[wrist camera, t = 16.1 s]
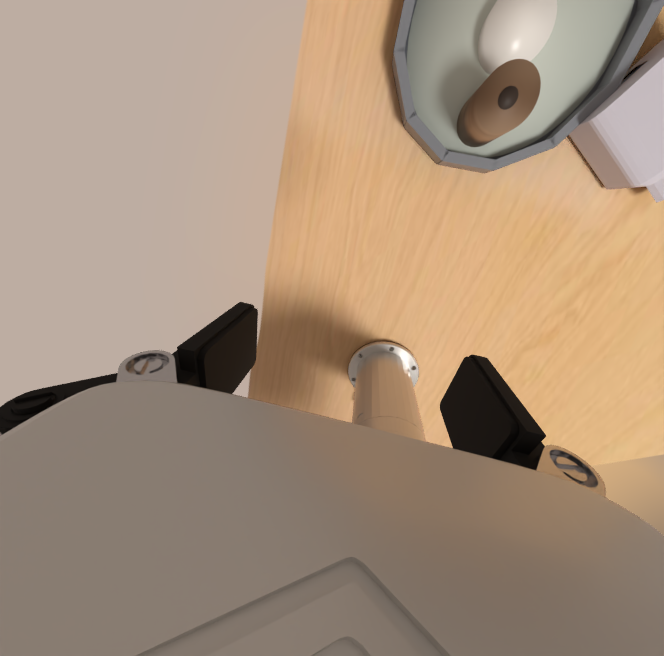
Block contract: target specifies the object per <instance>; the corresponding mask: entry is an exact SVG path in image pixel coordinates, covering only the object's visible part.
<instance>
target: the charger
mask: <svg viewBox="0 0 664 656" xmlns="http://www.w3.org/2000/svg"><path fill="white" fill-rule="evenodd" d="M646 61H647V62H646ZM644 62H646V63H644ZM642 63H644V64H643V65H641V66H639V67H638V68H637V69H636V70H635V71H634V72H633V73H631V74H630V75H629V76H628V77H627V78H626V79H625V80H624V81H623V82H622V83H621V84H620V86H619V88H618V89H617V90H616V91H615V92H614V93H613V94H612V95H611V96H610V97H609V98H607V99H606V100H605V101H604V102H603V103H602V104H601V105H600V106H599V107H598V108H597V109H596V110H595V111H593V112H592V113H591V114H590V115H589V116H588V117H587V118H586V119H585V120H584V121H583V122H582V123H581V124H580V125H578V126H577V127H576V128H575V129H574V130H573V131H572V132H571V133H570V134H569V136H570V137H571V139H572V140H573V142H574V143H575V145H576V146H577V147H578V149H579V150H580V152H581V153H582V155H583V156H584V157H585V159H586V160H587V162H588V163H589V165H590V166H591V168H592V169H593V170H594V172H595V173H596V175H597V176H598V178H599V179H600V181H601V182H602V183H603V185H604V186H605V188H606V189H620V188H633V187H645V186H646V187H647V189H648V190H649V192H650V193H651V195H652V197H653V198H654V200H655V201H656V202H659V201H662V200H664V39H663V40H662V41H660V42H659V43H658V44H657V45H655V46H654V47H653V48H652V49H651V50H650V51H649V52H648V53H647V54H646V55H644V56H643V57H642V58H641V59H640V60H639V61H638V62H637V63H636V64H635V65H634V66H633V67H631V68H630V69H629V70H628V71H627V73H626V75H627V74H628V73H629V72H630V71H631V70H633V69H634V68H635V67H636V66H638V65H640V64H642ZM626 75H625V76H626Z"/></svg>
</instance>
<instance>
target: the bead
mask: <svg viewBox="0 0 664 656" xmlns="http://www.w3.org/2000/svg"><path fill="white" fill-rule="evenodd" d="M540 88H541V80H540V74H539V72H538V70H537V68H536V66H535V65H534V64H533V63H531V62H530V61H528V60H525V59H514V60H510V61H508V62H505V63H504V64H502V65H500V66H499V67H498V68H497V69H495V70H494V71H493V72H492V73H491V75H490V76H489V77H488V78H487V79H486V80H485V81H484V82H483V84H482V85H481V86H480V87H479V88H478V89H477V90H476V91H475V92H474V94H473V95H472V96H471V97H470V98H469V99H468V100H467V101H466V103H465V104H464V106H463V107H462V109H461V111H460V113H459V116H458V119H457V134H458V137H459V139H460V140H461V142H462V143H463V144H465V145H466V146H469V147H480V146H483V145H485V144H487V143H489V142H491V141H493V140H495V139H496V138H498V137H500V136H502V135H504V134H505V133H507V132H509V131H511V130H513V129H514V128H516V127H517V126H519V125H520V124H521V123H522V122H523V121H525V119H526V118H527V117H528V116H529V115H530V113H531V112H532V110H533V109H534V107H535V105H536V103H537V100H538V97H539V94H540Z"/></svg>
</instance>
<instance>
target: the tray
mask: <svg viewBox="0 0 664 656" xmlns="http://www.w3.org/2000/svg"><path fill="white" fill-rule="evenodd" d="M663 5H664V0H404V4H403V9H402V14H401V18H400V23H399V28H398V33H397V38H396V42H395V47H394V52H393V60H392V68H393V73H394V79H395V84H396V89H397V94H398V100H399V105H400V110H401V115H402V121H403V126H404V128H405V129H406V130H407V131H408V133H409V134H410V135H411V136H412V137H413V138H414V139H415V140H416V142H417V143H418V144H419V145H420V146H421V147H422V148H423V149H424V150H425V152H426V153H427V154H428V155H429V156H430V157H431V158H432V159H433V161H434V162H435V163H436V164H437V163H438V165H443V166H448V167H453V168H459V169H464V170H469V171H475V172H480V173H487V172H491V171H494V170H497V169H499V168H502V167H504V166H507V165H510V164H512V163H515V162H518V161H520V160H523V159H526V158H528V157H531V156H534V155H536V154H539V153H541V152H544V151H547V150H549V149H552V148H554V147H556V146H557V145H558V144H559V143H560V142H561V141H562V140H563V139H564V138H566V137H567V136H568V135H569V134H570V133H571V132H572V131H573V130H574V129H575V128H576V127H577V126H578V125H580V124H581V123H582V122H583V121H584V120H585V119H586V118H587V117H588V116H589V115H590V114H591V113H592V112H593V111H595V110H596V109H597V108H598V107H599V106H600V105H601V104H602V103H603V102H604V101H605V100H606V99H607V98H609V97H610V96H611V95H612V94H613V93H614V92H615V91H616V90H617V89H618V88H619V86H620V84H621V82H622V80H623V79H624V77H625V75H626V73H627V71H628V69H629V68H630V66H631V64H632V62H633V60H634V58H635V57H636V55H637V53H638V51H639V49H640V47H641V46H642V44H643V42H644V40H645V38H646V37H647V35H648V33H649V31H650V29H651V27H652V26H653V24H654V22H655V20H656V18H657V16H658V15H659V13H660V11H661V9H662V7H663ZM514 59H525V60H528V61H530V62H531V63H533V64H534V65H535V66H536V68H537V70H538V72H539V74H540V80H541V88H540V94H539V97H538V100H537V103H536V105H535V107H534V109H533V110H532V112H531V113H530V115H529V116H528V117H527V118H526V119H525V121H523V122H522V123H521V124H520V125H519V126H517V127H516V128H514V129H513V130H511V131H509V132H507V133H505V134H504V135H502V136H500V137H498V138H496V139H495V140H493V141H491V142H489V143H487V144H485V145H483V146H480V147H469V146H466V145H465V144H463V143H462V142H461V140H460V139H459V137H458V134H457V119H458V116H459V113H460V111H461V109H462V107H463V106H464V104H465V103H466V101H467V100H468V99H469V98H470V97H471V96H472V95H473V94H474V92H475V91H476V90H477V89H478V88H479V87H480V86H481V85H482V84H483V82H484V81H485V80H486V79H487V78H488V77H489V76H490V75H491V73H492V72H493V71H494V70H495V69H497V68H498V67H499V66H500V65H502V64H504V63H505V62H508V61H510V60H514Z"/></svg>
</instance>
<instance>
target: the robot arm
mask: <svg viewBox="0 0 664 656" xmlns="http://www.w3.org/2000/svg"><path fill="white" fill-rule="evenodd" d="M257 316H258V312H257V309H255V308H254V306H253V305H251V304H247V303H243V302H239V303H238V304H236V305H235V306H234V307H232V308H231V309H229V310H228V311H227V312H225V313H224V314H223V315H221V316H220V317H218V318H217V319H216V320H214V321H213V322H211V323H210V324H209V325H207V326H206V327H205V328H203V329H202V330H200V331H199V332H198V333H196V334H195V335H193V336H192V337H191V338H189V339H188V340H187V341H185V342H184V343H182V344H181V345H179V346H178V347H177V349H178V350H177V351H176V352H174V353H173V354H170V353H168V352H165V351H159V350H154V351H146V352H140V353H138V354H135V355H132V356H131V357H129V358H127V359H125V360H124V361H123V362H122V363H121V364H120V366H119V369H118V373H116V374H111V375H106V376H101V377H96V378H91V379H86V380H81V381H76V382H71V383H67V384H62V385H57V386H52V387H47V388H42V389H38V390H33V391H30V392H27V393H24V394H22V395H20V396H18V397H16V398H14V399H12V400H10V401H8V402H7V403H5V404H4V405H2V406H1V407H0V656H664V536H663V535H662V534H661V533H659V531H657V530H656V529H655V528H654V527H652V526H651V525H650V524H649V523H647V522H646V521H644V520H643V519H641V518H640V517H638V516H636V515H635V514H633V513H632V512H630V511H628V510H627V509H625V508H623V507H622V506H620V505H618V504H616V503H614V502H613V501H611V500H609V499H607V498H606V497H605V495H606V488H605V484H604V482H603V480H602V478H601V477H600V475H599V474H598V473H597V472H596V471H595V470H594V469H593V468H592V467H591V466H590V465H589V464H588V463H587V462H585V461H584V460H583V459H581V458H580V457H578V456H577V455H576V454H574V453H572V452H570V451H568V450H566V449H564V448H561V447H559V446H554V445H547V446H544V445H543V444H542V442H541V441H542V440H543V439H544V438H545V437H546V435H545V433H544V432H543V431H542V429H541V428H540V427H539V426H538V424H537V423H536V422H535V420H534V419H533V418H532V416H531V415H530V414H529V412H528V411H527V410H526V408H525V407H524V406H523V405H522V403H521V402H520V401H519V399H518V398H517V397H516V395H515V394H514V393H513V391H512V390H511V389H510V387H509V386H508V385H507V383H506V382H505V381H504V380H503V378H502V377H501V376H500V374H499V373H498V372H497V370H496V369H495V368H494V366H493V365H492V364H491V362H490V361H489V360H488V359H487V358H485V357H481V356H477V355H470V356H469V357H465V358H464V359H463V361H462V363H461V365H460V367H459V369H458V371H457V372H456V374H455V376H454V378H453V380H452V382H451V384H450V386H449V388H448V389H447V391H446V393H445V395H444V397H443V399H442V401H441V403H440V410H441V413H442V416H443V419H444V422H445V425H446V428H447V431H448V434H449V437H450V440H451V443H452V446H453V448H449V447H445V446H441V445H437V444H433V443H429V442H426V439H425V434H424V430H423V426H422V421H421V417H420V413H419V408H418V404H417V400H416V395H415V391H414V386H415V384H416V383H417V380H418V377H419V368H418V364H417V361H416V359H415V357H414V356H413V354H412V353H411V352H410V351H409V350H407V349H406V348H405V347H403V346H401V345H399V344H396V343H392V342H385V341H382V342H374V343H370V344H367V345H365V346H363V347H362V348H360V349H359V350H357V351H356V352H355V353H354V355H353V356H352V358H351V360H350V363H349V368H348V375H349V379H350V381H351V383H352V385H353V386H354V388H355V394H354V405H353V416H352V423H349V422H345V421H341V420H337V419H333V418H329V417H325V416H321V415H316V414H312V413H308V412H304V411H300V410H296V409H292V408H288V407H283V406H279V405H275V404H271V403H267V402H263V401H258V400H254V399H250V398H246V397H242V396H237V395H233V394H232V393H233V392H234V391H235V389H236V388H237V387H238V385H239V384H240V383H241V381H242V380H243V379H244V377H245V376H246V375H247V373H248V372H249V371H250V369H251V368H252V367H253V365H254V363H255V361H256V347H257Z"/></svg>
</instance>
